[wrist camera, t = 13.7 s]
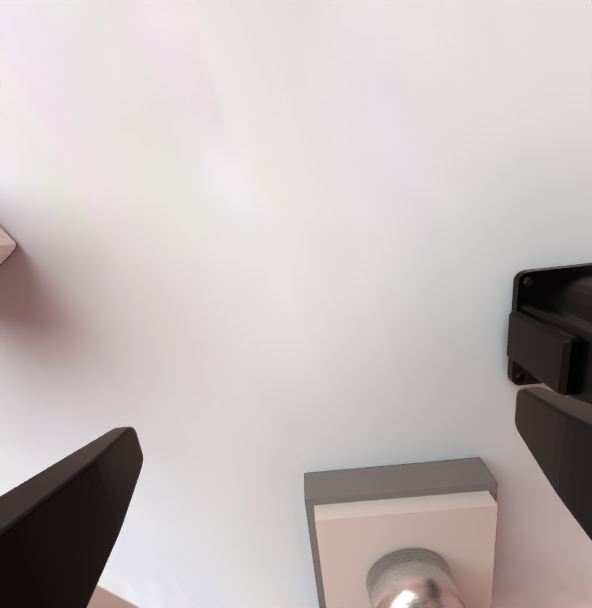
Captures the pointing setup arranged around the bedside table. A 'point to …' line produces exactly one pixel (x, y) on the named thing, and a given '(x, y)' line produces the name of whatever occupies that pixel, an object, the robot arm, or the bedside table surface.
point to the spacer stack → (412, 581)
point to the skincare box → (5, 245)
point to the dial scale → (401, 525)
